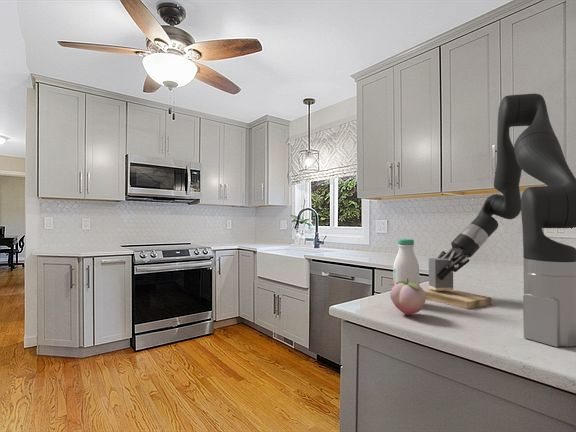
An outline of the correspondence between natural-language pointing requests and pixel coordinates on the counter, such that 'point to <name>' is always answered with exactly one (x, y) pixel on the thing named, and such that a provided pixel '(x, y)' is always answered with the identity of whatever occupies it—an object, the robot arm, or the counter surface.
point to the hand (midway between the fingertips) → (435, 276)
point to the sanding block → (434, 269)
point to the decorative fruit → (408, 297)
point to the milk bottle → (406, 263)
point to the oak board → (457, 298)
